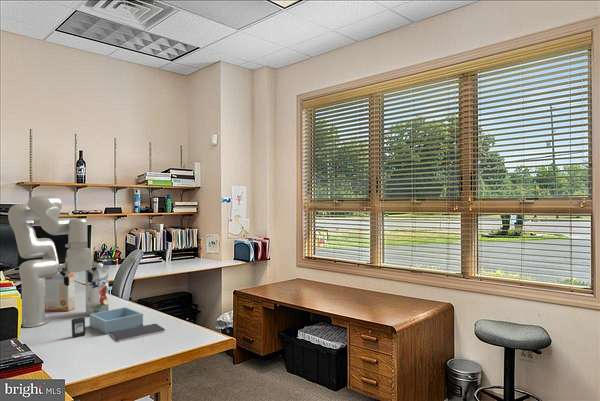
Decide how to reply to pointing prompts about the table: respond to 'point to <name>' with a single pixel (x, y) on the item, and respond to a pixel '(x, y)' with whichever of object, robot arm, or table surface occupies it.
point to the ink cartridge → (78, 327)
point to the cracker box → (59, 293)
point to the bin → (116, 320)
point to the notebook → (137, 332)
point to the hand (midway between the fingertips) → (78, 283)
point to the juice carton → (97, 290)
